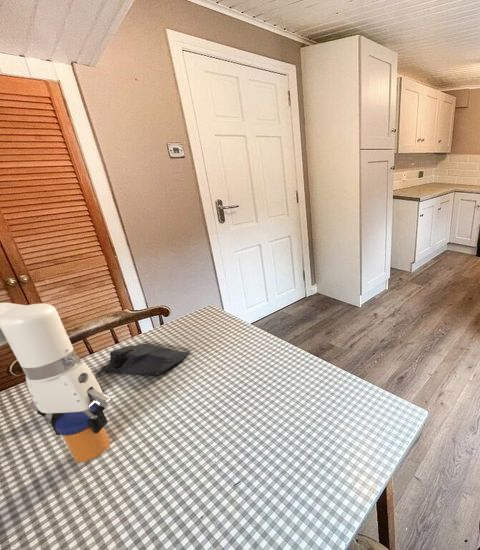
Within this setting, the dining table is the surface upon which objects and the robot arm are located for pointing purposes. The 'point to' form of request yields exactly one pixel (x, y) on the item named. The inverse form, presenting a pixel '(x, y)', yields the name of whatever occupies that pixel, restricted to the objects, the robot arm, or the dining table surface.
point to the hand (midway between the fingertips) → (83, 428)
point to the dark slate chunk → (143, 359)
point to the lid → (72, 422)
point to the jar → (86, 444)
